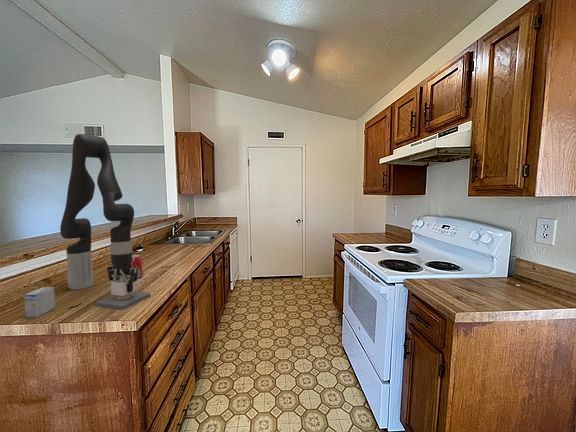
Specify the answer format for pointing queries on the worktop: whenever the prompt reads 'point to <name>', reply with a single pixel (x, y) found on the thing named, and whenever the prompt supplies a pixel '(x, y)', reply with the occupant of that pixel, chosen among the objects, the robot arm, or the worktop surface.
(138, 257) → the soda can
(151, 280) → the worktop surface
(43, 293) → the medicine box
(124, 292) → the collar
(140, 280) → the scissors
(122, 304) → the post base
